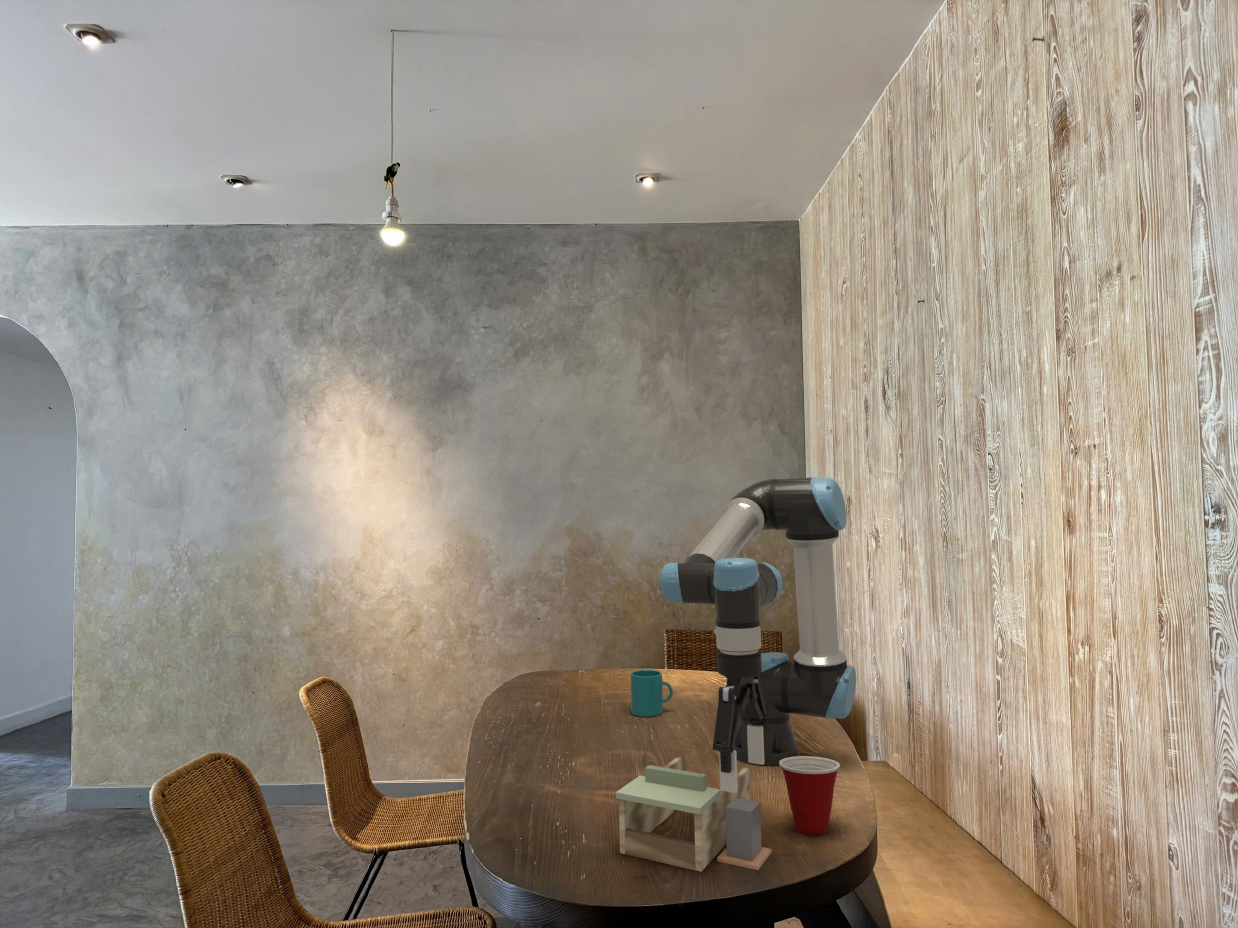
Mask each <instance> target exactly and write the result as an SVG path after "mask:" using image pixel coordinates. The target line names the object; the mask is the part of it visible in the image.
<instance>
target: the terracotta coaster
mask: <svg viewBox="0 0 1238 928" xmlns="http://www.w3.org/2000/svg"><path fill="white" fill-rule="evenodd" d="M771 854H772V848H768V847H763V846H762V851H761V852H760V853H759V854H758V856H757V857H756V858H755V859H754V860H753V861H748V860H743V859H739V858H734V857H730V856H727V846H726V848H724V849H723V851H722V852H721V853H720V854H719V855H718V856H716V857H717V858H716V859H717V861H716V862H719V863H723V864H727V865H732V866H737V867H741V868H745V869H750V870H756V871H759V870H760V868H761V867H762V866H763V864H764V863H765V862H766V861H767V859H768V858H769V856H770V855H771Z"/></svg>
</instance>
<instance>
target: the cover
mask: <svg viewBox="0 0 1238 928" xmlns="http://www.w3.org/2000/svg"><path fill="white" fill-rule="evenodd" d="M720 795H721V790H720V788H715V787H708V786H707V774H706V773H698V772H695V771H689V770H688V771H687V770H683V769H682V770H676V769H670V768H664V766H657V765H652V764H648V765H647V766H645V768H644V775H638V776H637V777H636V778H634V779H633V780H631V781H629V782H628V783H627V784H625V785H624V786H623V787H622V788H620V789H619V790H617V791H615V799H617V800H619V799H622V800H627V801H632V802H637V803H643V804H648V805H653V806H658V807H663V808H669V809H674V810H676V811H680V812H684V813H689V814H701V813H702V812H704V811H705V810H706V809H707V808H708V807H709V806H710V805H711V804H712V803H713V802H714V801H715V800H716V799H717V798H718V797H719V796H720Z"/></svg>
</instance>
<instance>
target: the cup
mask: <svg viewBox="0 0 1238 928" xmlns="http://www.w3.org/2000/svg"><path fill="white" fill-rule="evenodd" d="M629 678H630V682H629V683H630V712H631V714H632V715H633V716H636V717H640V718H653V717H654V718H655V717H658V716H660V715H662V713H663V712H664V704H665V703H668V702H669V701H670V700H671V699H672V698H673V695H674V693H673V692H674V689H673V687H672V685H671V684H670V683H669V682H667V681H664V680H663V673H662V672H661V671H659V670H656V669H655V670H654V669H638V670H635V671H632V672H630V674H629ZM663 686H665V687H667V689H668V690H669V691H668V692H669V694H668V696H667V697H665V698H664V697H663Z"/></svg>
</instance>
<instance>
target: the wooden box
mask: <svg viewBox="0 0 1238 928" xmlns="http://www.w3.org/2000/svg"><path fill="white" fill-rule="evenodd" d="M682 762H683V759H682V757H679V756H678V757H675V758H674V759H672V760H671V761H670V762H669V763H667V764H666V765H664V766H663V767H664V768H670V769H676V770H682V771H683V765H682V764H683V763H682ZM737 784H738V792H737V793H732V792H727V791H721V795H720V796H719V797H718V798H717V799H716V800H715V801H714V802H713V803H712V804H711V805H710V806H709V807H708V808H707V809H706V810H705V811H704V812H702V813H701V814H695V813H693V814H694V815H693V818H694V821H693V822H694V823H693V824H694V826H693V827H694V841H690V840H685V839H681V838H677V837H673V836H672V837H671V836H667V835H662V834H657V833H652V831H654V830H655V829H656V828H657V827H658V826H659V825H661V824H662V823H663V822H665V820H666V819H668V818H669V817H670V816H671V815H672V814H674V813H675V812H676V811H677V810H674V809H669V808H663V807H658V806H653V805H648V804H643V803H637V802H632V801H627V800H622V799H618V817H619V818H618V819H619V821H618V824H619V854H622V855H626V856H631V857H635V858H640V859H644V860H649V861H652V862H658V863H663V864H667V865H671V866H675V867H679V868H683V869H688V870H691V871H696V872H703V870H705V868H706V867H707V866H708V865H709V864H710V863H711V862H712V861H713V859H714V858H715V857H717V855H718V854H719V853H720V852H721V851H722V850H723V849H724V847H725V846H727V842H726V806H727V805H728V804H729V803H730V802H731V801H732V800H733V799H734V798H740V799H746V800H751V789H750V788H751V786H750V785H751V782H750V768H749V767H743V768H742V769H741V770H740V771H739V772H737Z"/></svg>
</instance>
